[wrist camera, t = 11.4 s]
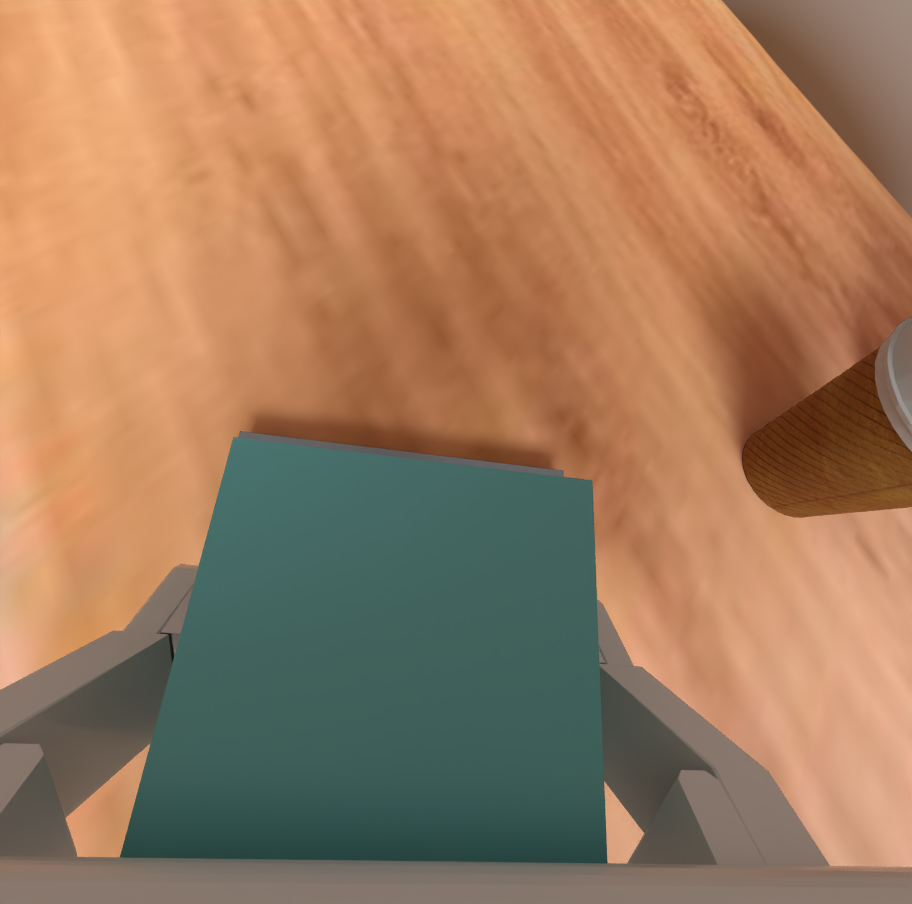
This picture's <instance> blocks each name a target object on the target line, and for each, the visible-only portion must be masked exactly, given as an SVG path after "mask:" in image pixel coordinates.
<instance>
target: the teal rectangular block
mask: <svg viewBox="0 0 912 904" xmlns="http://www.w3.org/2000/svg"><path fill="white" fill-rule="evenodd" d="M120 857H125V858H207V859H292V860H379V861H460V862H536V863H607V843H606V817H605V792H604V767H603V741H602V716H601V690H600V665H599V639H598V614H597V589H596V563H595V538H594V512H593V487H592V480H584V479H576V478H567V477H559V476H551V475H542V474H534V473H526V472H517V471H509V470H501V469H492V468H484V467H476V466H467V465H459V464H451V463H443V462H434V461H426V460H418V459H409V458H401V457H393V456H384V455H376V454H368V453H359V452H351V451H343V450H334V449H326V448H318V447H310V446H301V445H293V444H285V443H276V442H268V441H260V440H251V439H243V438H235V437H233V441H232V445H231V448H230V452H229V456H228V460H227V463H226V467H225V471H224V474H223V478H222V482H221V485H220V489H219V493H218V497H217V500H216V504H215V508H214V511H213V515H212V519H211V522H210V526H209V530H208V534H207V537H206V541H205V545H204V548H203V552H202V556H201V559H200V563H199V567H198V571H197V574H196V578H195V582H194V585H193V589H192V593H191V596H190V600H189V604H188V608H187V611H186V615H185V619H184V622H183V626H182V630H181V633H180V637H179V641H178V645H177V648H176V652H175V656H174V659H173V663H172V667H171V670H170V674H169V678H168V682H167V685H166V689H165V693H164V696H163V700H162V704H161V707H160V711H159V715H158V719H157V722H156V726H155V730H154V733H153V737H152V741H151V744H150V748H149V752H148V756H147V759H146V763H145V767H144V770H143V774H142V778H141V781H140V785H139V789H138V793H137V796H136V800H135V804H134V807H133V811H132V815H131V818H130V822H129V826H128V830H127V833H126V837H125V841H124V844H123V848H122V852H121V855H120Z"/></svg>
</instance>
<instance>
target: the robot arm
mask: <svg viewBox="0 0 912 904" xmlns="http://www.w3.org/2000/svg"><path fill="white" fill-rule="evenodd" d="M198 567H199V566H194V565H185V564H180V565H178V566H176V567H174V568H173V569H172V570H171V571H170V573H169V574H168V575H167V576H166V578H165V579H164V580H163V581H162V583H161V584H160V585H159V586H158V588H157V589H156V590H155V591H154V593H153V594H152V595H151V596H150V598H149V599H148V600H147V601H146V603H145V604H144V605H143V606H142V608H141V609H140V610H139V612H138V613H137V614H136V615H135V617H134V618H133V619H132V620H131V622H130V623H129V624H128V625H127V627H126V628H125V629H124V630H123V631H112V632H110V633H108V634H106V635H104V636H102V637H100V638H98V639H96V640H95V641H93V642H91V643H89V644H87V645H85V646H83V647H81V648H79V649H77V650H76V651H74V652H72V653H70V654H68V655H66V656H64V657H62V658H60V659H58V660H56V661H55V662H53V663H51V664H49V665H47V666H45V667H43V668H41V669H39V670H37V671H36V672H34V673H32V674H30V675H28V676H26V677H24V678H22V679H20V680H18V681H17V682H15V683H13V684H11V685H9V686H7V687H5V688H3V689H1V690H0V904H912V867H861V866H830V865H829V864H828V862H827V861H826V859H825V857H824V856H823V854H822V853H821V851H820V850H819V848H818V847H817V845H816V844H815V842H814V841H813V839H812V838H811V836H810V834H809V833H808V831H807V830H806V828H805V827H804V825H803V824H802V822H801V821H800V819H799V818H798V816H797V814H796V813H795V811H794V810H793V808H792V807H791V805H790V804H789V802H788V801H787V799H786V798H785V796H784V794H783V793H782V791H781V790H780V788H779V787H778V785H777V784H776V782H775V781H774V779H773V778H772V776H771V774H770V773H769V771H767V770H766V769H765V768H764V767H763V766H761V765H760V764H759V763H758V762H756V761H755V760H754V759H753V758H752V757H750V756H749V755H748V754H747V753H746V752H744V751H743V750H742V749H741V748H739V747H738V746H737V745H736V744H735V743H733V742H732V741H731V740H730V739H729V738H727V737H726V736H725V735H724V734H722V733H721V732H720V731H719V730H718V729H716V728H715V727H714V726H713V725H711V724H710V723H709V722H708V721H707V720H705V719H704V718H703V717H702V716H701V715H699V714H698V713H697V712H696V711H694V710H693V709H692V708H691V707H690V706H688V705H687V704H686V703H685V702H684V701H682V700H681V699H680V698H679V697H677V696H676V695H675V694H674V693H673V692H671V691H670V690H669V689H668V688H667V687H665V686H664V685H663V684H662V683H660V682H659V681H658V680H657V679H656V678H654V677H653V676H652V675H651V674H650V673H648V672H647V671H646V670H645V669H643V668H642V667H638V666H634V665H633V663H632V661H631V659H630V657H629V655H628V653H627V651H626V649H625V647H624V645H623V643H622V641H621V639H620V637H619V635H618V633H617V631H616V629H615V627H614V625H613V623H612V622H611V620H610V618H609V616H608V614H607V612H606V610H605V608H604V606H603V604H602V603H601V602H600V601H599V600H597V614H598V639H599V665H600V690H601V716H602V741H603V767H604V781H605V782H606V784H607V785H608V786H609V788H610V789H611V790H612V792H613V793H614V794H615V796H616V797H617V798H618V799H619V801H620V802H621V803H622V805H623V806H624V807H625V809H626V810H627V811H628V813H629V814H630V815H631V816H632V818H633V819H634V820H635V822H636V823H637V824H638V826H639V827H640V828H641V830H642V831H643V832H644V835H643V837H642V838H641V840H640V842H639V843H638V845H637V847H636V849H635V850H634V852H633V854H632V856H631V857H630V859H629V861H628V863H627V864H612V863H536V862H460V861H379V860H292V859H207V858H125V857H77V852H76V848H75V845H74V842H73V839H72V836H71V833H70V830H69V827H68V825H67V822H66V819H65V818H66V817H67V816H68V815H69V814H70V813H72V812H73V811H74V810H75V809H76V808H77V807H78V806H79V805H81V804H82V803H83V802H84V801H85V800H86V799H87V798H89V797H90V796H91V795H92V794H93V793H94V792H95V791H96V790H98V789H99V788H100V787H101V786H102V785H103V784H104V783H106V782H107V781H108V780H109V779H110V778H111V777H112V776H113V775H115V774H116V773H117V772H118V771H119V770H120V769H121V768H123V767H124V766H125V765H126V764H127V763H128V762H129V761H130V760H132V759H133V758H134V757H135V756H136V755H137V754H138V753H140V752H141V751H142V750H143V749H144V748H145V747H146V746H147V745H149V744H150V743H151V741H152V737H153V733H154V730H155V726H156V722H157V719H158V715H159V711H160V707H161V704H162V700H163V696H164V693H165V689H166V685H167V682H168V678H169V674H170V670H171V667H172V663H173V659H174V656H175V652H176V648H177V645H178V641H179V637H180V633H181V630H182V626H183V622H184V619H185V615H186V611H187V608H188V604H189V600H190V596H191V593H192V589H193V585H194V582H195V578H196V574H197V571H198Z"/></svg>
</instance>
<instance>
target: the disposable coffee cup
mask: <svg viewBox="0 0 912 904" xmlns="http://www.w3.org/2000/svg"><path fill="white" fill-rule="evenodd" d="M743 465H744V470H745V474H746V476H747V479H748V481H749V483H750V485H751V486H752V488H753V489H754V491H755V492H756V494H757V495H758V496H759V497H760V498H761V499H762V500H763V501H764V502H765V503H766V504H767V505H768V506H770V507H771V508H773V509H775V510H776V511H778V512H780V513H782V514H784V515H788V516H792V517H809V516H820V515H831V514H842V513H853V512H865V511H874V510H884V509H895V508H907V507H912V317H910V318H908V319H906V320H905V321H903V322H902V323H900V324H899V325H897V327H896V328H895V330H894V331H893V332H892V334H891V335H890V336H889V337H888V338H887V339H886V340H885V341H884V342H883V344H882V345H881V347H879V348H878V349H876V350H875V351H874V352H873V353H871V354H870V355H868V356H866V357H865V358H864V359H862V360H861V361H860V362H857V363H856V364H855V365H853V366H852V367H851V368H850V369H847V370H846V371H845V372H843V373H842V374H841V375H839V376H837V377H836V378H834V379H833V380H832V381H830V382H829V383H827V384H826V385H824V386H823V387H822V388H821V389H819V390H817V391H815V392H814V393H813V394H812V395H810V396H808V397H807V398H805V399H804V400H803V401H801V402H799V403H798V404H797V405H796V406H794V407H792V408H791V409H789V410H788V411H787V412H785V413H783V414H782V415H781V416H780V417H778V418H776V419H775V420H774V421H772V422H771V423H769V424H768V425H767V426H765V427H763V428H762V429H761V430H759V431H757V432H756V433H754V434H753V435H752V436H751V437H750V438H749V440H748V441H747V443H746V445H745V447H744V452H743Z"/></svg>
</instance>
